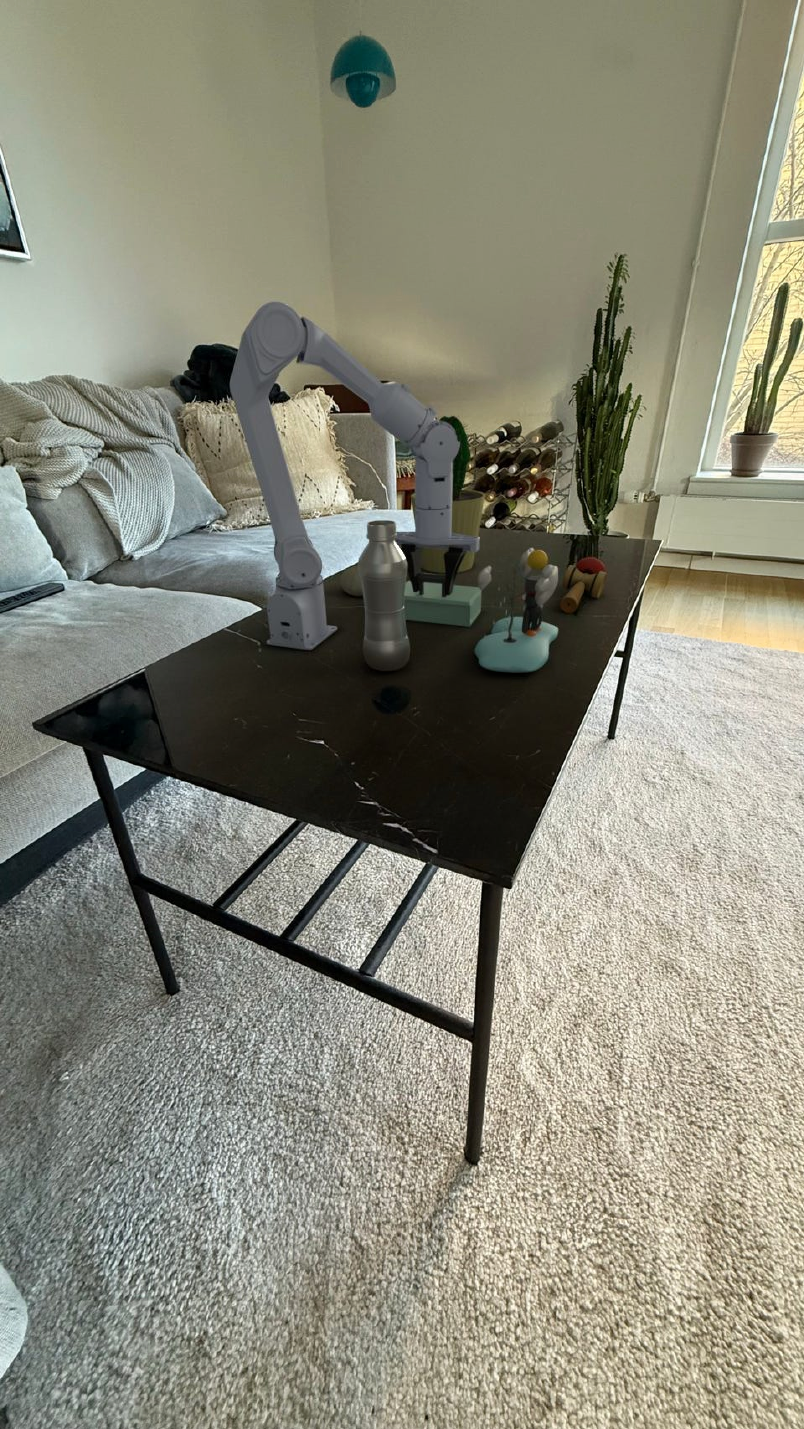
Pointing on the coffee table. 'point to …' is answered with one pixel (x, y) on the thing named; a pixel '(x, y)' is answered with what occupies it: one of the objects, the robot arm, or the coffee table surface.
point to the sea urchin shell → (351, 581)
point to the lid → (440, 591)
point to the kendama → (582, 582)
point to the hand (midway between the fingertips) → (433, 592)
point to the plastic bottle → (384, 598)
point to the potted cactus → (457, 505)
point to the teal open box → (442, 612)
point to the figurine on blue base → (521, 621)
